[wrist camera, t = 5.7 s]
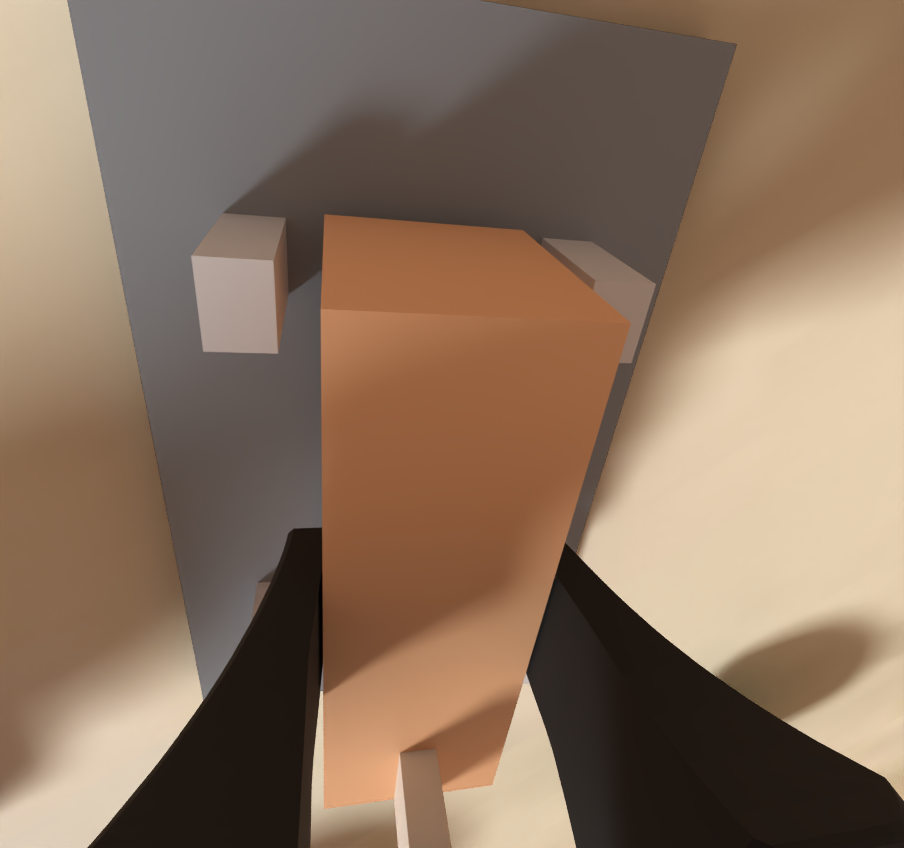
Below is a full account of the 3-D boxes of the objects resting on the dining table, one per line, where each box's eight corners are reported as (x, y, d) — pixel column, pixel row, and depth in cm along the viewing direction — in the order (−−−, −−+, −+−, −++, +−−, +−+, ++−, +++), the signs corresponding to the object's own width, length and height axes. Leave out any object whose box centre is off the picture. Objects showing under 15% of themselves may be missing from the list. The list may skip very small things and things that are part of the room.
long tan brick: (454, 617, 18) (519, 907, 12) (325, 627, 17) (322, 945, 11) (523, 230, 12) (742, 417, 5) (324, 214, 11) (317, 415, 5)
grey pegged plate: (531, 646, 22) (566, 748, 19) (209, 675, 20) (184, 798, 16) (708, 45, 12) (854, 37, 9) (77, -61, 9) (-62, -131, 6)
